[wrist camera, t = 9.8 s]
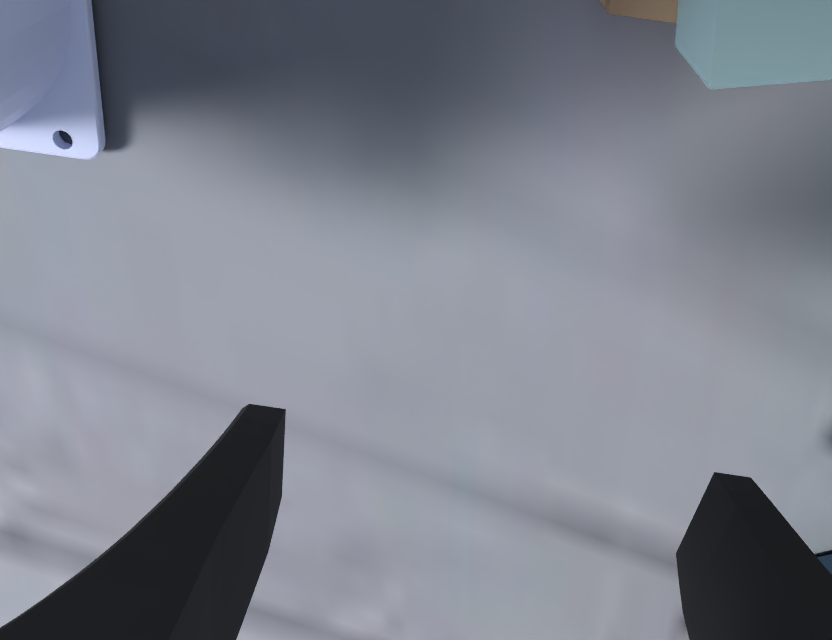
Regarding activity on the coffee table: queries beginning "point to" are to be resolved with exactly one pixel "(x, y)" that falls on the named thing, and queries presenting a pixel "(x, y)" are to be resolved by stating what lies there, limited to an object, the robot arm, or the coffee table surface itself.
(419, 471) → the coffee table surface
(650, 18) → the tower base
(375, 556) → the coffee table surface
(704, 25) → the tower top
